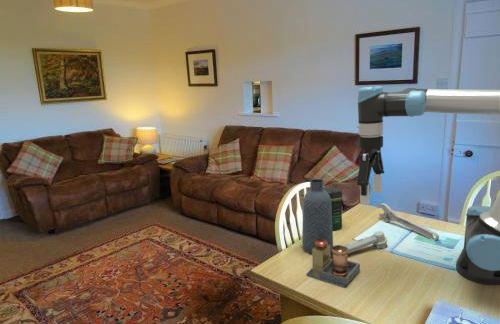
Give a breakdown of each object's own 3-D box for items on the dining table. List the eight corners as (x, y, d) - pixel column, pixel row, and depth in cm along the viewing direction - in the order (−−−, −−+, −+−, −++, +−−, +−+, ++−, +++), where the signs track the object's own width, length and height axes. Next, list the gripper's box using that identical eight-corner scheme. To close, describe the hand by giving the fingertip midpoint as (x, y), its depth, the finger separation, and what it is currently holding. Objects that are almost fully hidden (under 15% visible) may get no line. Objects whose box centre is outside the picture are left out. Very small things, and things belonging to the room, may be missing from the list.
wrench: (434, 247, 148) (375, 217, 172) (437, 246, 148) (377, 216, 172) (438, 230, 145) (377, 202, 169) (440, 228, 146) (380, 201, 170)
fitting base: (360, 270, 128) (360, 242, 126) (345, 288, 118) (345, 258, 116) (323, 259, 137) (322, 233, 134) (306, 275, 127) (306, 247, 124)
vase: (339, 251, 143) (339, 182, 136) (312, 258, 139) (311, 187, 132) (322, 238, 154) (321, 174, 147) (297, 245, 150) (295, 179, 143)
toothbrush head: (327, 246, 139) (380, 225, 147) (329, 262, 141) (381, 240, 148) (335, 252, 134) (389, 230, 142) (337, 268, 136) (390, 245, 144)
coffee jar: (345, 228, 162) (345, 189, 158) (329, 232, 160) (329, 192, 156) (333, 221, 171) (333, 183, 167) (318, 224, 169) (318, 186, 164)
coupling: (350, 271, 127) (351, 247, 124) (344, 278, 122) (344, 254, 120) (335, 267, 130) (335, 243, 128) (328, 274, 126) (328, 250, 123)
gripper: (370, 129, 129) (371, 186, 134) (345, 142, 110) (347, 208, 114) (392, 129, 125) (392, 188, 130) (370, 142, 105) (371, 211, 110)
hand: (371, 198), depth 122 cm, fingers open, 13 cm apart
